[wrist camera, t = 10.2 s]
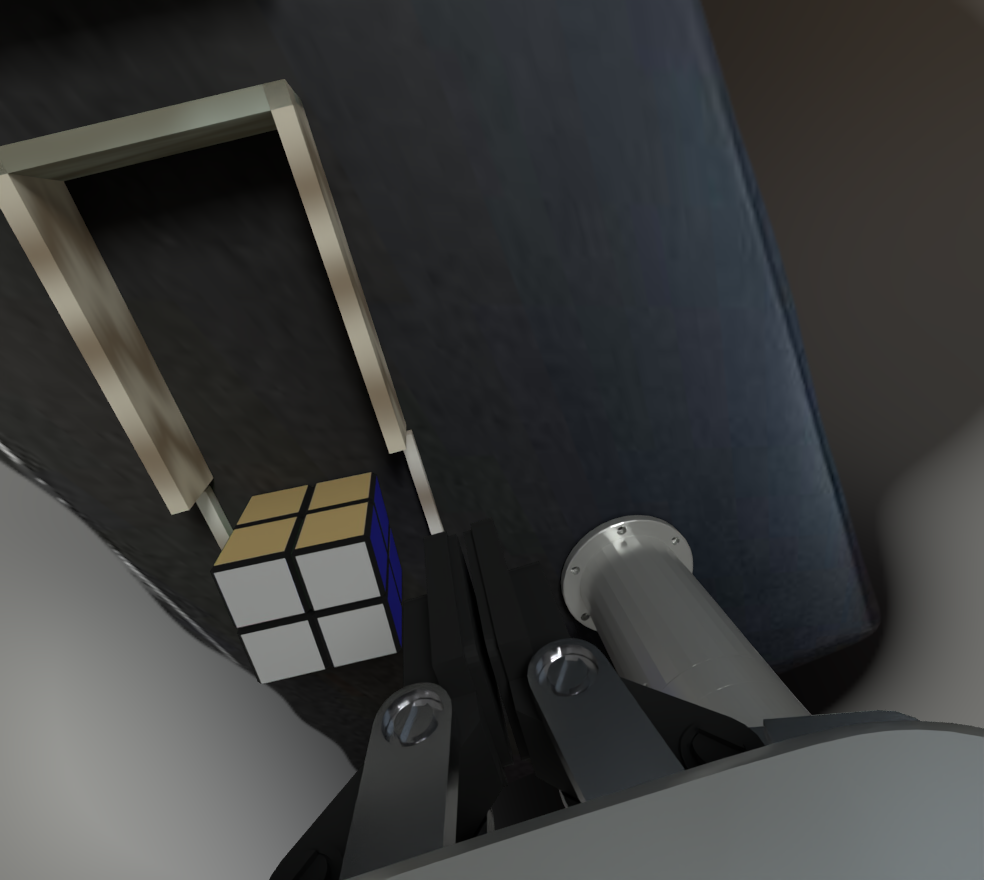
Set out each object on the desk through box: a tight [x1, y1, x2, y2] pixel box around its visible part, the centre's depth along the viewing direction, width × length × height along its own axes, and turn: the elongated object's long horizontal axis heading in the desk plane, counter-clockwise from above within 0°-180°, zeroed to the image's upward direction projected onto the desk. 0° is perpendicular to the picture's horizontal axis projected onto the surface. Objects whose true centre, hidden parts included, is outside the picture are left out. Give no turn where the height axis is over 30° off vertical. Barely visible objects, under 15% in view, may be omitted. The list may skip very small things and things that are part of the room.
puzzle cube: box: [210, 472, 402, 684], centre depth 39 cm, size 10×10×10 cm
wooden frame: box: [0, 79, 444, 550], centre depth 37 cm, size 35×17×5 cm, turn 13°
